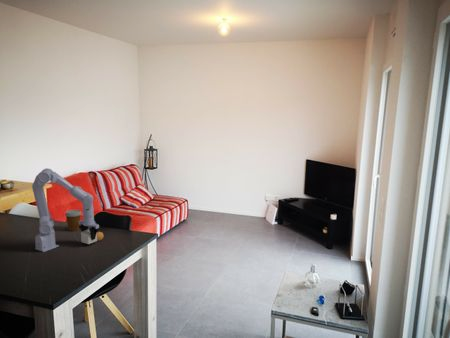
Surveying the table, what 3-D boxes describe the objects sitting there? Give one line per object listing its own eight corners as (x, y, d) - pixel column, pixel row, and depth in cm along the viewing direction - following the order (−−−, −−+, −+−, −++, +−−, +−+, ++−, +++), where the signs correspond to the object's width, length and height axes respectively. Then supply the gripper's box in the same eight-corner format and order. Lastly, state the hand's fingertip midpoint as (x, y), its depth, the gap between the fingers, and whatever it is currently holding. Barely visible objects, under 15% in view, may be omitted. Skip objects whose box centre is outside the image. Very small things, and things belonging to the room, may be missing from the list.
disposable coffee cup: (78, 232, 217) (77, 214, 215) (63, 232, 217) (62, 213, 215) (84, 227, 226) (83, 209, 224) (70, 226, 226) (69, 209, 224)
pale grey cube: (88, 244, 195) (88, 234, 194) (81, 241, 198) (80, 232, 197) (97, 240, 200) (96, 230, 199) (89, 238, 203) (89, 228, 202)
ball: (103, 231, 204) (106, 237, 207) (97, 229, 207) (100, 235, 209) (97, 237, 201) (100, 243, 203) (91, 235, 203) (94, 241, 206)
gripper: (102, 215, 197) (103, 238, 199) (85, 211, 204) (86, 233, 206) (92, 219, 191) (93, 242, 193) (75, 214, 197) (76, 237, 200)
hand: (89, 238), depth 199 cm, fingers closed on pale grey cube, 6 cm apart
